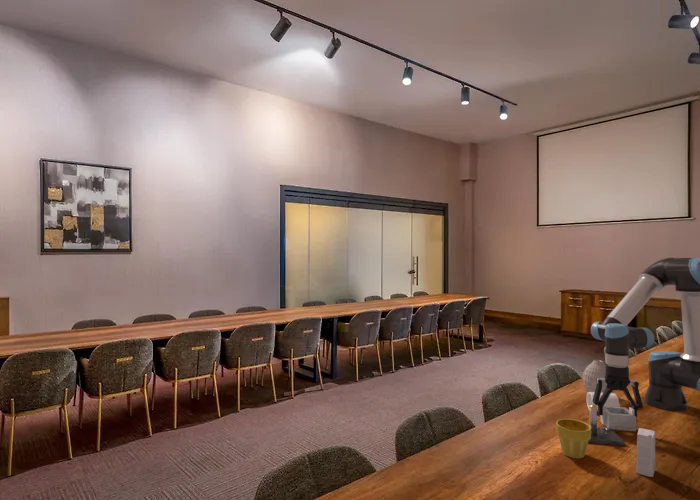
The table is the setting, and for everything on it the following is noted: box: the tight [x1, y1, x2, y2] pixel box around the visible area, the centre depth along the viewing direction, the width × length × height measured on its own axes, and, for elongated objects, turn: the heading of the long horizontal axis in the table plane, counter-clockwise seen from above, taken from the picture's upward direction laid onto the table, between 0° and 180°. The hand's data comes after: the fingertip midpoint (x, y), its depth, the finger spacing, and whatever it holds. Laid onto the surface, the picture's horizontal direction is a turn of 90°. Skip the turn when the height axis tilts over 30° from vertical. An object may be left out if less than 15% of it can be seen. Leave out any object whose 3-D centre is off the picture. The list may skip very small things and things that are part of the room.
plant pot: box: [555, 418, 591, 459], centre depth 139 cm, size 10×10×10 cm
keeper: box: [588, 405, 626, 447], centre depth 152 cm, size 16×12×11 cm
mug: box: [586, 392, 621, 413], centre depth 178 cm, size 12×10×8 cm
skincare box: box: [635, 427, 656, 478], centre depth 127 cm, size 6×4×12 cm
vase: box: [582, 359, 614, 393], centre depth 194 cm, size 13×13×17 cm
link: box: [599, 406, 637, 432], centre depth 158 cm, size 9×9×6 cm
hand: (617, 424), depth 158 cm, fingers closed on link, 9 cm apart
